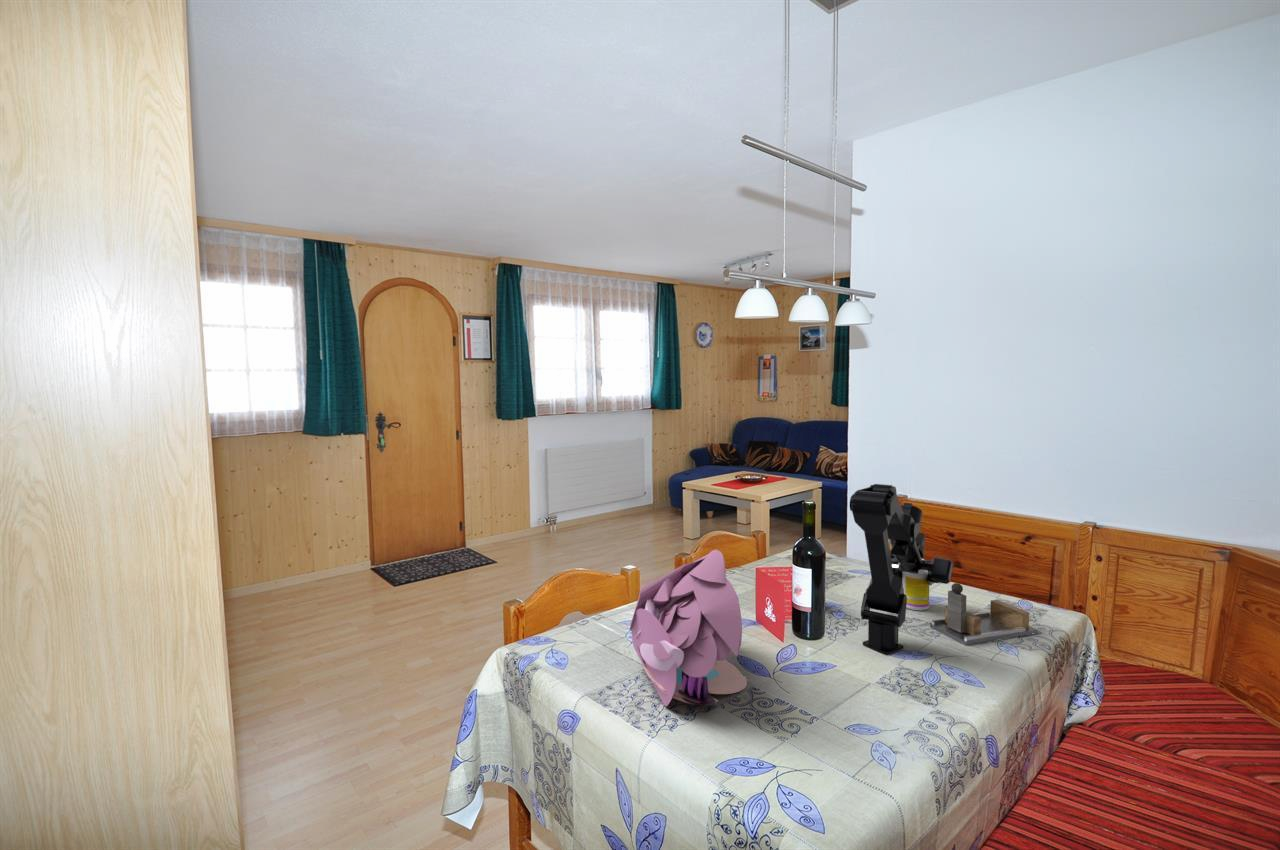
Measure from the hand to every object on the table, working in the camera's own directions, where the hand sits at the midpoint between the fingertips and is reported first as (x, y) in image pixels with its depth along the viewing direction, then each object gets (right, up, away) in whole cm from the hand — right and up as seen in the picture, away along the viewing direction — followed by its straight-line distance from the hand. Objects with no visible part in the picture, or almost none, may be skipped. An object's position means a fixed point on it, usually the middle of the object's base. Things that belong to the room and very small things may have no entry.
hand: (917, 581), depth 158 cm
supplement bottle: (-1, -7, -1) cm, 7 cm away
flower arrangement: (-63, -10, -37) cm, 74 cm away
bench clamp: (+8, -7, -16) cm, 20 cm away
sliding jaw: (+1, -6, -18) cm, 19 cm away
